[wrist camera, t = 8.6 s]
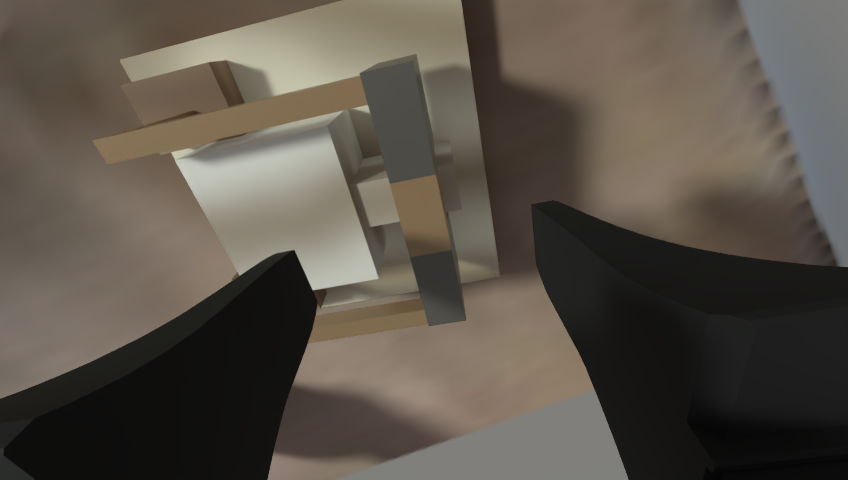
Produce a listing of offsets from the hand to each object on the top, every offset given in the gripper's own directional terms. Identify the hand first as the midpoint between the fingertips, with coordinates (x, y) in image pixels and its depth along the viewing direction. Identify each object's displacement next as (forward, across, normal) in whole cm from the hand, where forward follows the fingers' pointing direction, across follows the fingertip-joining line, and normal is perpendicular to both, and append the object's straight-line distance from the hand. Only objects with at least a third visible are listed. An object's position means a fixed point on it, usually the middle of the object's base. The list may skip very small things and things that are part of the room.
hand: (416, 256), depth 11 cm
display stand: (+10, +4, 0) cm, 11 cm away
